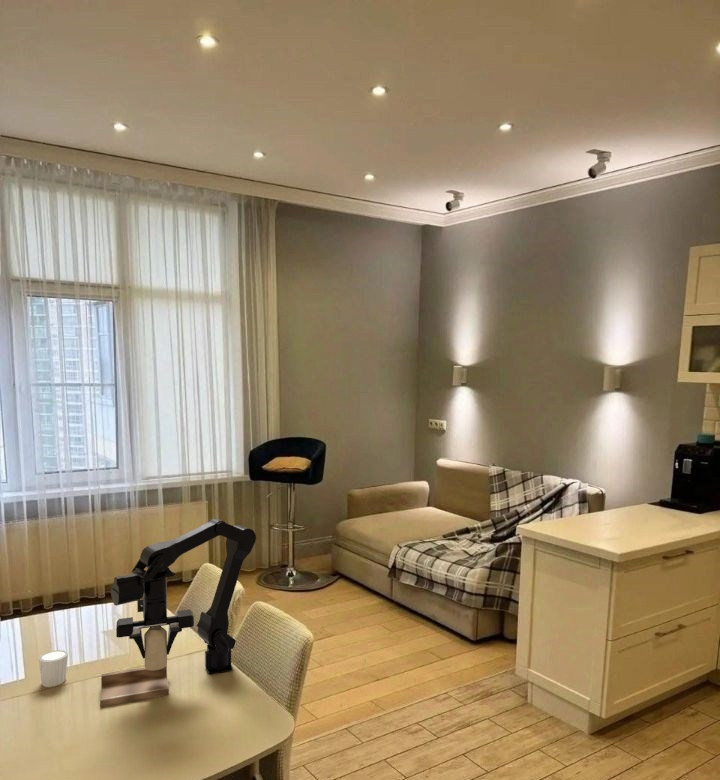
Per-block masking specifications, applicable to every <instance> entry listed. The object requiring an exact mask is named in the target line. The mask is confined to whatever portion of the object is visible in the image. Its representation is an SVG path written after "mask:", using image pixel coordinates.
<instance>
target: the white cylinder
mask: <svg viewBox="0 0 720 780" xmlns="http://www.w3.org/2000/svg"><path fill="white" fill-rule="evenodd" d="M68 655H69V653H68V651H66V650H63V649H62V650H60V649H59V650H58V649H57V650H51V651H47V652H45V653H43V654H41V655H40V656H39V658H38V662H39V663H38V664H39V672H40V681H41V686H42V687H45V688H51V687H57V686H60V685H62V684H63V683H64V682H65V681H66V678H67V667H68V658H69V657H68Z"/></svg>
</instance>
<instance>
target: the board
mask: <svg viewBox="0 0 720 780" xmlns="http://www.w3.org/2000/svg"><path fill="white" fill-rule="evenodd" d="M167 669H168V664H167V665H166V667H164V668H162V669H160V670H155V671H150V670H147V669H145V666H144V667H139V668H133V669H127V670H121V671H114V672H107V673H102V674H101V676H100V677H101V678H100V679H101V681H100V683H101V688H100V689H101V690H100V696H99V697H100V700H99V702H100V703H99V706H100V707H105V706H111V705H118V704H123V703H129V702H135V701H139V700H145V699H150V698H151V699H152V698H157V697H162V696H167V695H169V694H170V691H169V690H170V689H169V681H168V680H169V679H168V670H167Z"/></svg>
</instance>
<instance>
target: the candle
mask: <svg viewBox="0 0 720 780" xmlns="http://www.w3.org/2000/svg"><path fill="white" fill-rule="evenodd" d="M143 635H144V639H143V645H144V652H145V658H144V667H145V669H147V670H150V671H155V670H160V669H162V668H164V667H166V665H167V666H168V655H167V641H168V631H167V630H166V629H165V628H164V627H162V626H156V627H149V628H147V630H146V631H145V633H144V634H143Z"/></svg>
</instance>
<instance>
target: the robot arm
mask: <svg viewBox="0 0 720 780" xmlns="http://www.w3.org/2000/svg"><path fill="white" fill-rule="evenodd" d="M255 532H256V531H254V530H253V529H252V528H249V527H246V526H243V525H240V524H234V525H232V524H229V523H228V522H227V523H226V522H225V520H221V519H219V518H212V519H210V520H209V521H208V522H206V523H204V524H202V525H200V526H197V527H196V528H194V529H192V530H190V531H188V532H185V533H184V534H182V535H180V536H177V537H176V538H174V539H170V540H167V541H166V540H165V541H161V542H160V541H159V542H156V543H153V544H150V545H147V546H146V547H144V548H143V549H142V551H141V553H140V557H139V559H138V561H137V562H136V564H135V566H134V567H133V568H132V570H131V574H125V575H118V576H114V579H113V581H114V582H112V585H111V588H110V595H111V600H112V602H113V605H114V606H120V605H125V604H129V603H133V602H136V603H137V605H136V606H137V609H136V610H137V613H142V615H143V617H142V619H143V620H136V621H134V617H131V616H130V617H124V618H118V620H116V627H115V628H116V634H115V635H116V638H127V637H128V639H129V640H134V641H133V642H135V644H136V645H137V647H138V649H139V651H140V655H141V657H142V659H144V660H145V652H144V639H143V632H142V629H149V628H150V627H156V626H161V627H162V626H168V631H167V656H168V655H169V654H170V652H171V650H172V646H173V644H174V642H175V639H176V637H177V635H178V633H181V632H183V629H187V628H193V627H194V626H195V620H194V619H195V618H194V613H193V611H192V610H191V609H183V610H182V609H181V610H176V615H173V616H168V593H167V592H168V589H167V587H168V586H167V585H168V582H167V581H168V579H167V578H171V577H175V575H176V574H175V572H173V571H172V570H171V569H170V566H172V565H173V564H174V563H175V562H176V561H177V560H178V559H179V558H180V556H182V555H184V554H185V553H188V552H189V551H192V550H193V549H196V548H198V547H199V546H202V545H203V544H205V543H207V542H209V541H211V540H213V539H215V538H217V537H218V536H221V537H224V538H226V539H225V549H226V557H225V560H224V564H223V567H222V571H221V574H220V576H219V580H218V584H217V586H216V590H215V593H214V596H213V599H212V603H211V606H210V608H209V609H208V610H207V611H206V612H204V611H201V613H200V614H199V615H200V616H199V620H198V622H197V624H196V627H197V634H198V636H199V637H200V638H201V639H202V640H203V642H204V643H205V644H207V645H206V650H205V651H204V667H205V670H207V674H208V675H213V674H219V673H226V672H230V671H233V670H234V669H233V668H234V667H233V666H232V665H233V664H232V650H233V649H235V645H236V639H235V638H233V637H232V636H231V635H229V634H228V632H229V625H230V622H229V614H228V613H229V609H230V605H231V602H232V599H233V595H234V593H235V590H236V589H235V588H236V585H237V582H238V578H239V576H240V574H241V569H242V567H243V563H244V561H245V559H246V558H247V557H248V556H249V555H250V553H251V552H252V551H253V548H254V545H255V543H256V541H257V535H256V533H255ZM145 569H146V570H145Z"/></svg>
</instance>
